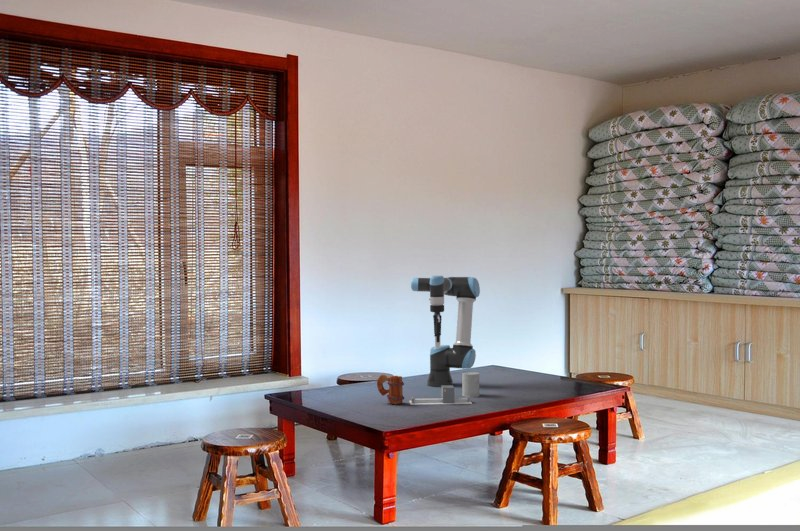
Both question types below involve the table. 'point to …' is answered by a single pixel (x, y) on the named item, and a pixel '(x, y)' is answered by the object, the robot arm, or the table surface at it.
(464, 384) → the light grey cylinder
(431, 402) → the rail panel
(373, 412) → the table surface
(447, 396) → the block
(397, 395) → the mug
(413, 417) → the table surface
